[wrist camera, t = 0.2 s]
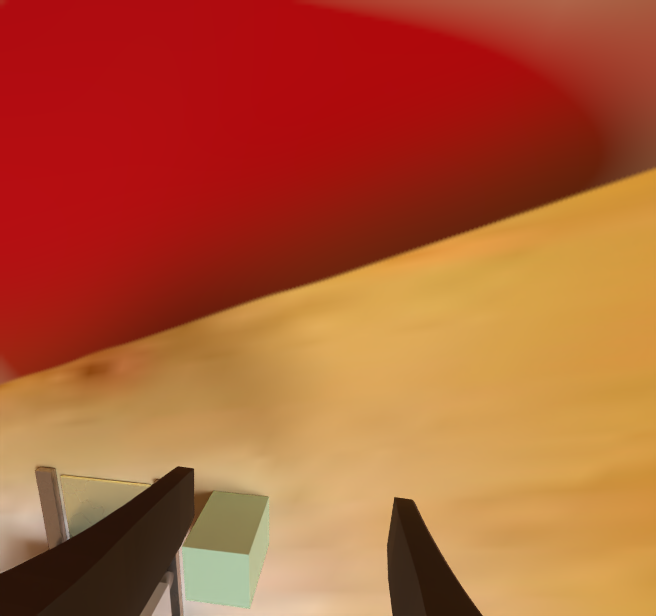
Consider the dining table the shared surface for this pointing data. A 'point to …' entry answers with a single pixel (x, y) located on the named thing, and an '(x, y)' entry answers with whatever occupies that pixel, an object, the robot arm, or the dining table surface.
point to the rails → (91, 512)
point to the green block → (227, 549)
